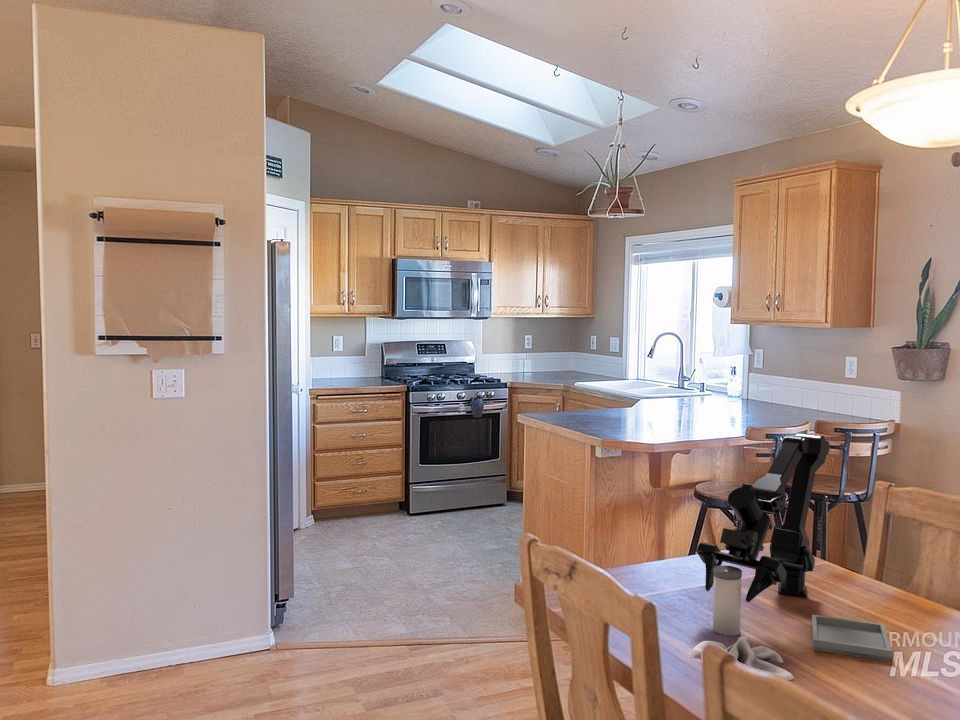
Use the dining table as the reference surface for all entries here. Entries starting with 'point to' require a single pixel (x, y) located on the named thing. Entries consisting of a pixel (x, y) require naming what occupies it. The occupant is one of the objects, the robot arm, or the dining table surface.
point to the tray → (851, 637)
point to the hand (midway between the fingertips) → (726, 595)
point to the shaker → (727, 600)
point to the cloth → (749, 656)
